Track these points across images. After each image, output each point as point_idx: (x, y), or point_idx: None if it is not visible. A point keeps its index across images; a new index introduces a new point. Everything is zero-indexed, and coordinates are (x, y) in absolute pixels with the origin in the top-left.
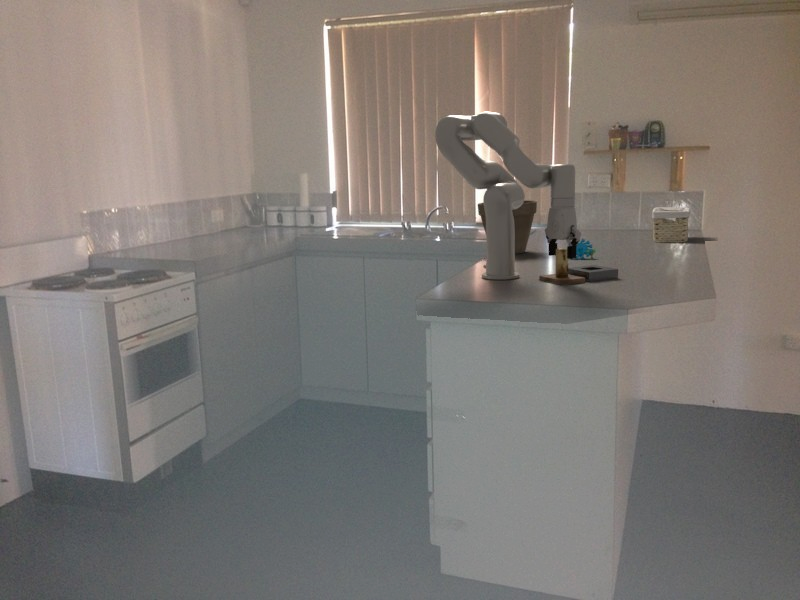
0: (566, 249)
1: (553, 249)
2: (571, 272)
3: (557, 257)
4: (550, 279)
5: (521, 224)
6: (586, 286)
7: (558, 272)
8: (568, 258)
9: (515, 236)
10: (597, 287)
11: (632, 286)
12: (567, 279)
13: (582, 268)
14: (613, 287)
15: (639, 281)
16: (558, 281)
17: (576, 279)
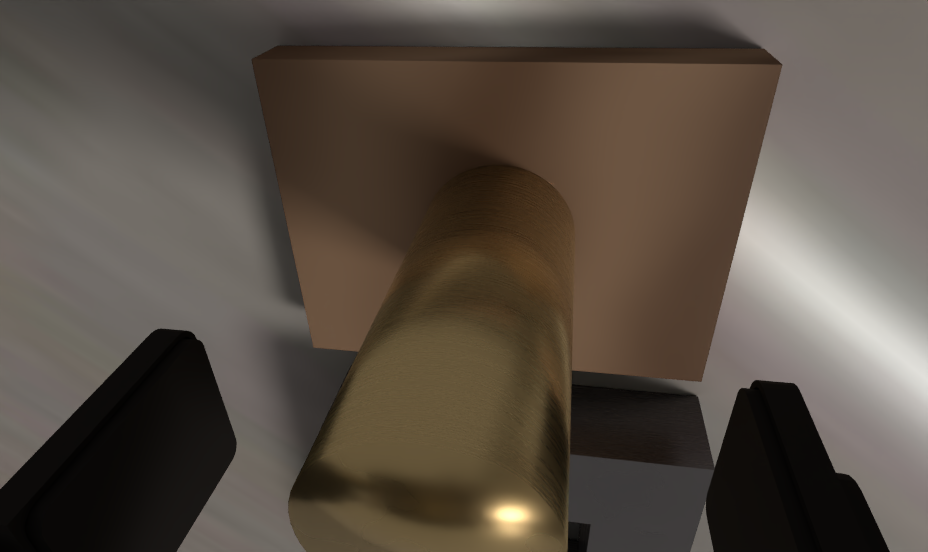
0: (326, 550)
1: (749, 548)
2: (603, 430)
3: (436, 322)
4: (500, 56)
5: None
6: (137, 200)
7: (461, 197)
8: (159, 329)
9: None
10: (66, 236)
11: (58, 420)
12: (296, 160)
13: (587, 541)
14: (42, 320)
15: (220, 544)
16: (331, 53)
17: (296, 254)
